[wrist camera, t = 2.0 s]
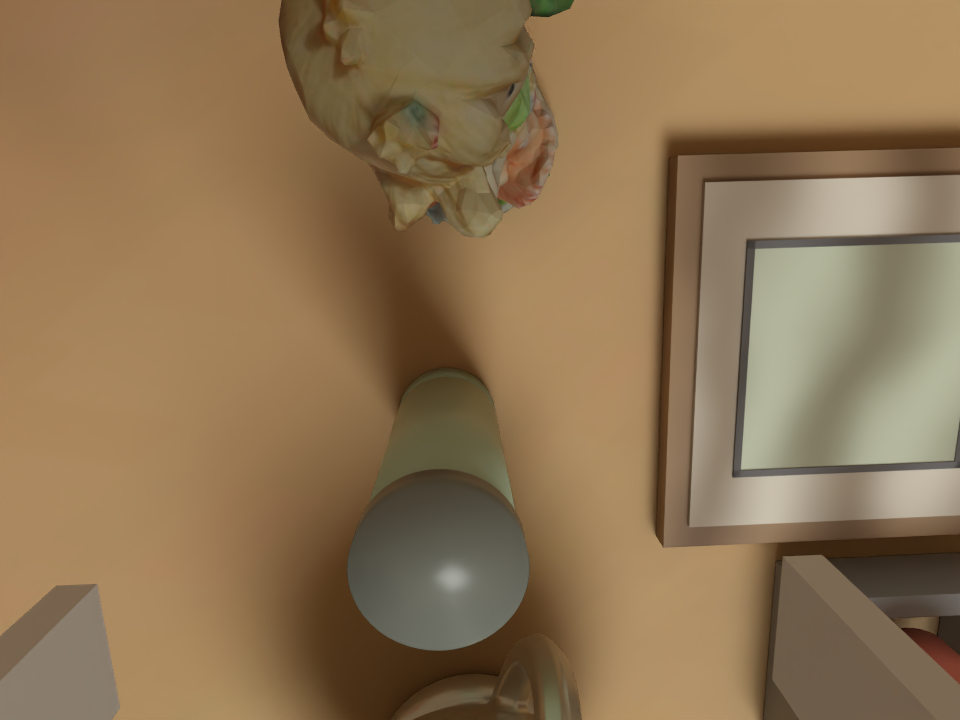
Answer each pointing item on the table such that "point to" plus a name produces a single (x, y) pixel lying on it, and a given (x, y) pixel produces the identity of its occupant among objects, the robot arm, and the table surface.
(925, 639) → the button
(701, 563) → the table surface
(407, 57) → the figurine
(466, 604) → the cylinder
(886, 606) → the button housing
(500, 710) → the teapot
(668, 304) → the picture board
